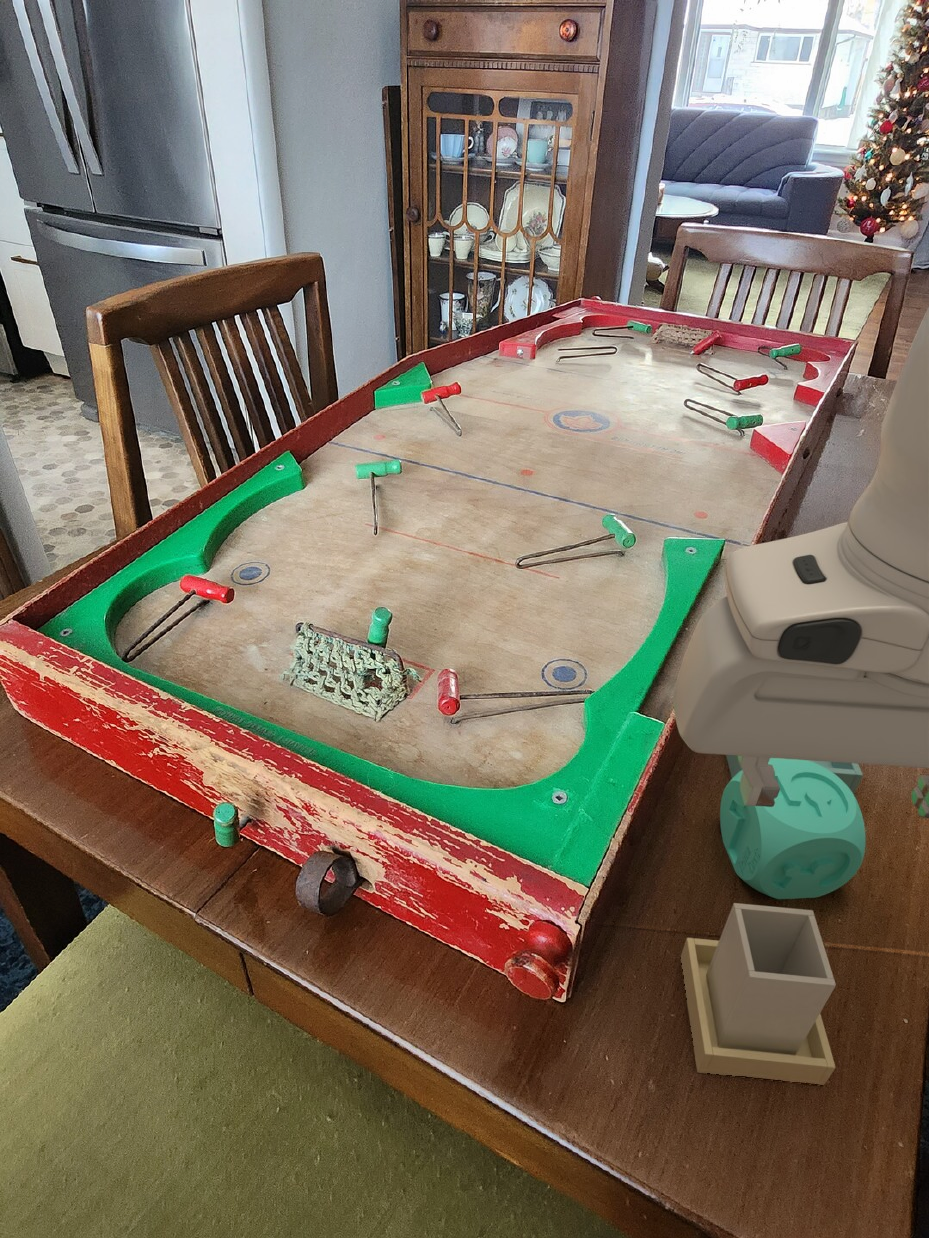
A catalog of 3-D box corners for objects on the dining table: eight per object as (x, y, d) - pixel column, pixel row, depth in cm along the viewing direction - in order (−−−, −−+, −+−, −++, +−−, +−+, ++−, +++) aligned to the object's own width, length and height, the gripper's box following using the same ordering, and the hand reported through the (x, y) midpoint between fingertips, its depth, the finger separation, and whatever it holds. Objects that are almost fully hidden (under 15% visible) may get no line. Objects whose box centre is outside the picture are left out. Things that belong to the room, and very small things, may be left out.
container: (777, 981, 55) (813, 910, 50) (796, 1055, 51) (836, 985, 46) (705, 974, 55) (733, 902, 50) (718, 1047, 51) (749, 976, 46)
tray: (792, 967, 56) (802, 948, 55) (824, 1086, 50) (836, 1067, 48) (680, 956, 56) (686, 937, 55) (696, 1072, 50) (705, 1053, 49)
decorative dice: (711, 822, 67) (733, 756, 62) (801, 818, 67) (830, 753, 63) (745, 904, 60) (772, 838, 55) (845, 900, 61) (880, 833, 56)
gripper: (1131, 573, 37) (1007, 774, 45) (696, 550, 38) (651, 750, 46) (1225, 655, 32) (1067, 865, 40) (720, 626, 33) (665, 836, 41)
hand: (841, 803), depth 43 cm, fingers open, 8 cm apart
